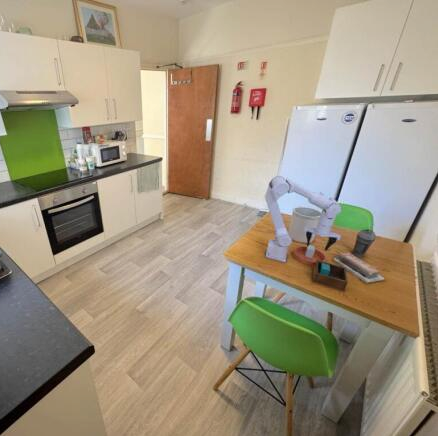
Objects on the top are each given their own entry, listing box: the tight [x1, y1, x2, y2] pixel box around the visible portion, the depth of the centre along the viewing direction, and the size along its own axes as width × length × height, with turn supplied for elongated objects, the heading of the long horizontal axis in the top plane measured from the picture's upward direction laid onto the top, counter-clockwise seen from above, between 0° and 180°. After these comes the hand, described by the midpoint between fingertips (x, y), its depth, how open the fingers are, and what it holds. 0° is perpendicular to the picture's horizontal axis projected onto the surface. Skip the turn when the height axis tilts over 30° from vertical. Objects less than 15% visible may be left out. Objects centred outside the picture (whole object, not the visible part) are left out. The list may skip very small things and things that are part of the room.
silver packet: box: [305, 244, 316, 258], centre depth 126 cm, size 3×5×5 cm
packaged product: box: [332, 251, 385, 284], centre depth 115 cm, size 18×5×10 cm
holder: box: [312, 260, 349, 292], centre depth 110 cm, size 11×11×6 cm
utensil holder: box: [287, 205, 322, 244], centre depth 140 cm, size 15×15×18 cm
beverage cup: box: [352, 223, 377, 259], centre depth 122 cm, size 7×7×20 cm
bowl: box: [292, 245, 327, 267], centre depth 125 cm, size 14×14×3 cm
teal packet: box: [319, 263, 330, 276], centre depth 112 cm, size 3×5×5 cm
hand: (316, 247), depth 120 cm, fingers open, 7 cm apart
